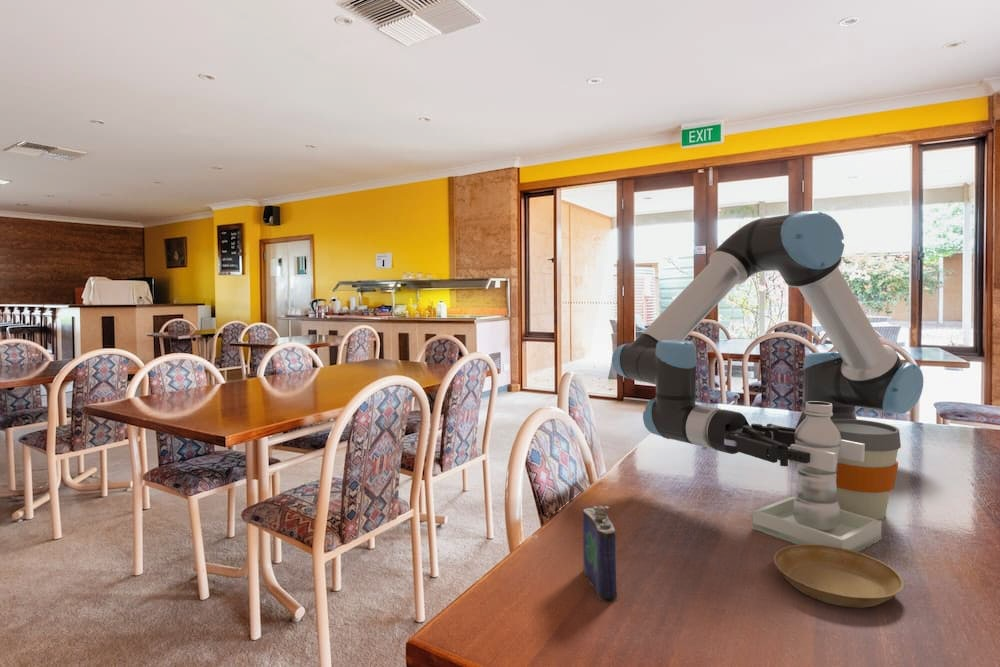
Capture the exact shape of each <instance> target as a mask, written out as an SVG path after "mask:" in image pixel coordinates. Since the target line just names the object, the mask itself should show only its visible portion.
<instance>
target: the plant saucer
mask: <svg viewBox="0 0 1000 667" xmlns="http://www.w3.org/2000/svg"><path fill="white" fill-rule="evenodd" d="M773 562H774V565H775V566H776V568H777V569H778V570H779V572H780V573H781V574H782V576H783V577H784V578H785V579H786V580H787V581H788V582H789V583H790V584H791V585H792V587H794V588H795V589H797V590H798V591H799V592H801V593H803V594H805V595H806V596H807V597H810V598H812V599H815V600H818V601H819V602H824V603H827V604H829V605H830V604H831V605H836V606H840V607H844V608H845V607H846V608H856V609H857V608H859V609H861V608H862V609H863V608H872V607H876V606H879V605H881V604H883V603H885V602H887V601H889V600H891V599H893V598H894V597H895V596H897V594H899V593H900V592H901V591H902V590H903V588H904V580H903V577H902V576H901V575H900V574H899V573H898V572H897V571H896V570H895V569H893V568H892V567H891V566H890V565H888V564H886V563H884V562H883V561H881V560H879V559H877V558H874V557H872V556H869V555H866V554H865V553H861V552H855V551H852V550H848V549H843V548H839V547H833V546H827V545H815V544H801V545H797V544H794V545H788V546H785V547H782V548H780V549H779V550H776V552H775V553H774V555H773Z"/></svg>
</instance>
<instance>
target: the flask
mask: <svg viewBox="0 0 1000 667" xmlns="http://www.w3.org/2000/svg"><path fill="white" fill-rule="evenodd" d="M608 509H609V506H607V505H604V506H596V505H594V506H593V507H590V508H589V507H588V508H584V509H583V510H582V547H583V548H582V571H583V574H584V575H583V576H584V577H586V578H587V580H588V584H589V585H590V586H591V587H593V590H594V591H595V592H596V595H597V597H598V600H600V601H602V602H604V603H614V602H616V601H617V599H618V598H617V597H618V592H617V559H616V558H617V555H616V554H617V552H616V550H617V547H616V545H617V544H616V541H617V540H616V539H617V535H616V534H617V532H616V529H615V526H614V524H613V522H612V521H611V519H610V518H609V516H608V513H606V512H605V510H608Z"/></svg>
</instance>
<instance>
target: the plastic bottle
mask: <svg viewBox="0 0 1000 667" xmlns="http://www.w3.org/2000/svg"><path fill="white" fill-rule="evenodd" d="M804 414H805V415H807V416H806V418H805V419H804V420H803V421H802V422H801V423H800V425H799V426H798V427H797V429H796V431H795V434H794V439H795V445H800V446H805V447H809V448H814V449H819V450H823V451H828V452H833V453H836V470H835V472H830V471H826V470H822V469H818V468H813V467H809V466H805V465H801V464H797V463H796V464H797V480H796V481H797V482H796V491H795V495H794V496H795V499H794V505H793V513H794V518H795V520H796V521H797V523H798V524H801V525H804V526H807V527H810V528H814V529H817V530H820V531H829V530H833V529H835V528H836V527H837V526H838V524H839V521H840V516H841V514H840V506H839V502H838V496H837V483H836V478H837V474H836V472H837V465H838V458H839V453H840V447H841V446H840V445H841V440H842V438H841V435H840V432H839V431H838V429H837V427H836V426H835V425H834V423H833V422H832V421H831V418H830V417H832V416H833V413H832V404H831V403H828V402H820V401H809V402H806V405H805V411H804Z"/></svg>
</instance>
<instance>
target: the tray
mask: <svg viewBox="0 0 1000 667" xmlns="http://www.w3.org/2000/svg"><path fill="white" fill-rule="evenodd" d="M795 496H796V495H793V496H792V495H791V496H789V497H787V498H784V499H781V500H778V501H776V502H774V503H771V504H768V505H765V506H762V507H760V508H758V509H754V510H753V511H752V530H755V531H757V532H761V533H764V534H767V535H769V536H772V537H775V538H778V539H781V540H782V541H783V540H784V541H786V542H789V543H792V544H794V545H801V544H815V545H827V546H833V547H839V548H843V549H848V550H852V551H855V552H858V553H860V552H861V551H863V550H865V549H867V548H869V547H871V546H873V545H874V544H873V543H875V542H877V541H878V542H880V541H882V529H883V528H882V525H883V524H882V523H883V520H880V519H879V520H876V519H872V518H869V517H865V516H862V515H858V514H855V513H851V512H848V511H845V510H841V509H840V514H841V516H840V521H839V524H838V526H837V527H836V528H835V529H833V530H829V531H820V530H817V529H814V528H810V527H807V526H804V525H801V524H798V523H797V521H796V520H795V518H794V513H793V505H794V499H795ZM879 540H880V541H879ZM878 542H877V543H878ZM872 544H873V545H872ZM875 544H876V543H875ZM870 545H871V546H870ZM868 546H869V547H868ZM866 547H867V548H866Z"/></svg>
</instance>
